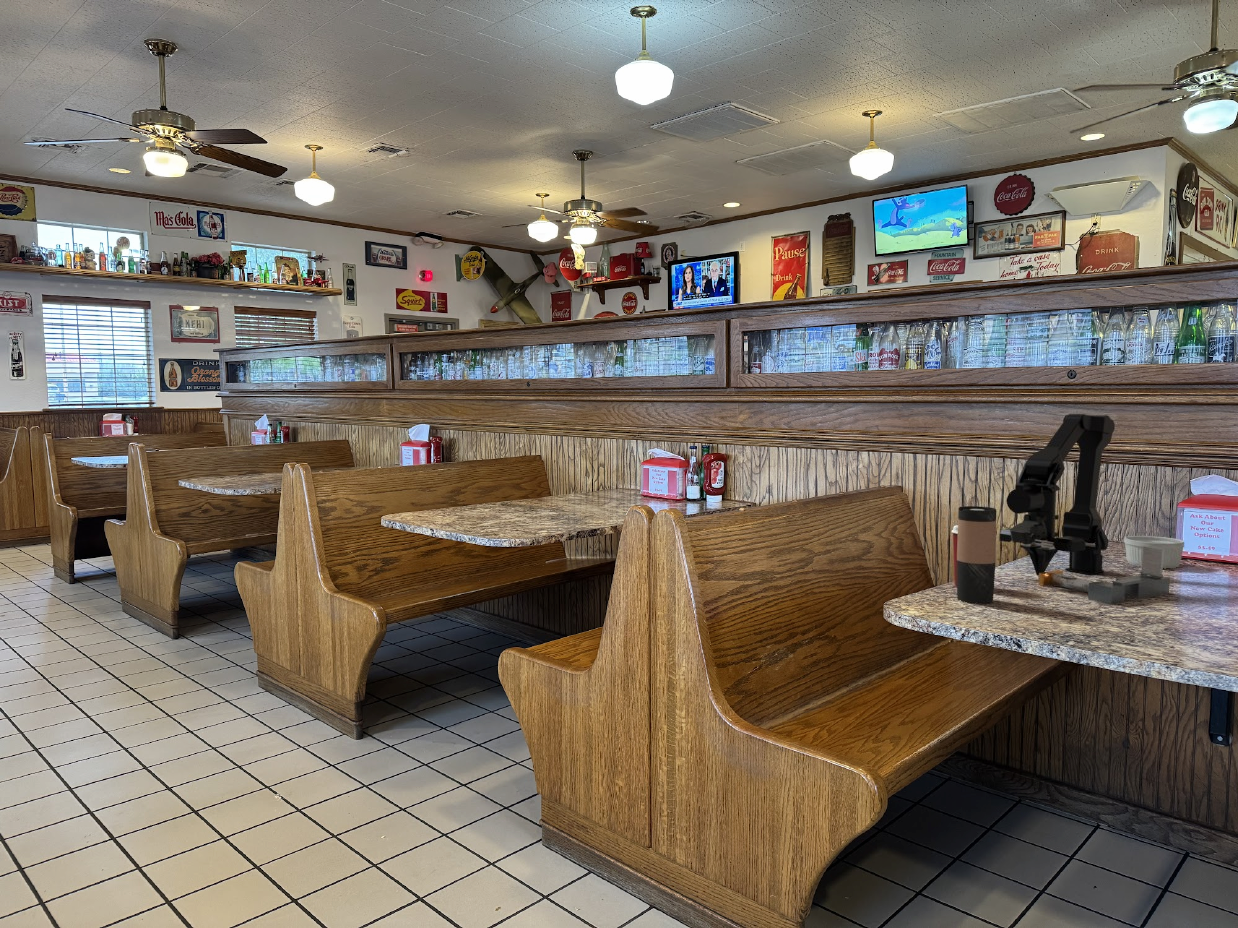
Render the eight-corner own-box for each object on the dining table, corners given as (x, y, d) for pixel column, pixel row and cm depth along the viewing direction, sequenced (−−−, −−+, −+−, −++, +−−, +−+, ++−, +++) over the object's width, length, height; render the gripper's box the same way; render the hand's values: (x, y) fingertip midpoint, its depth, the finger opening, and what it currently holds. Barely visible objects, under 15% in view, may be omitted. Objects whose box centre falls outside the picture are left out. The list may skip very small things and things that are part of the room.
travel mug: (999, 599, 175) (1002, 508, 174) (987, 606, 169) (989, 511, 168) (963, 594, 180) (965, 505, 179) (950, 600, 175) (952, 508, 173)
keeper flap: (1139, 574, 183) (1142, 546, 182) (1142, 574, 183) (1144, 546, 183) (1160, 578, 179) (1163, 549, 179) (1162, 578, 179) (1165, 549, 179)
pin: (1038, 585, 189) (1038, 572, 189) (1057, 582, 192) (1058, 570, 192) (1080, 594, 180) (1080, 581, 180) (1099, 591, 183) (1100, 577, 183)
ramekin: (1114, 560, 220) (1115, 534, 220) (1166, 561, 218) (1167, 535, 218) (1138, 569, 207) (1139, 542, 207) (1194, 571, 205) (1195, 543, 205)
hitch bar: (1088, 599, 175) (1088, 580, 175) (1145, 589, 185) (1146, 571, 184) (1111, 604, 171) (1112, 584, 170) (1169, 593, 180) (1169, 574, 180)
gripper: (984, 508, 196) (982, 571, 197) (1056, 517, 180) (1054, 586, 181) (1015, 505, 201) (1013, 567, 202) (1088, 514, 185) (1085, 581, 186)
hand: (1039, 575), depth 193 cm, fingers closed
